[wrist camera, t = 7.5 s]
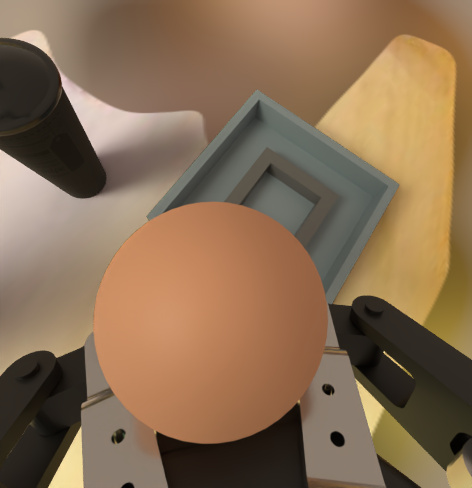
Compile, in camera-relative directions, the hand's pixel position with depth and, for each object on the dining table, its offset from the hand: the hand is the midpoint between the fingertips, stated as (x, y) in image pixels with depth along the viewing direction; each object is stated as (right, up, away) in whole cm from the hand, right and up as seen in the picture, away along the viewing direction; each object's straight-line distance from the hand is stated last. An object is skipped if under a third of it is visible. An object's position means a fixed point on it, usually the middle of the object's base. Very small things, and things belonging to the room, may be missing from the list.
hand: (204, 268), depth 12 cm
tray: (+6, +5, +21) cm, 22 cm away
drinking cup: (-16, +9, +19) cm, 27 cm away
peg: (0, -3, +5) cm, 5 cm away
